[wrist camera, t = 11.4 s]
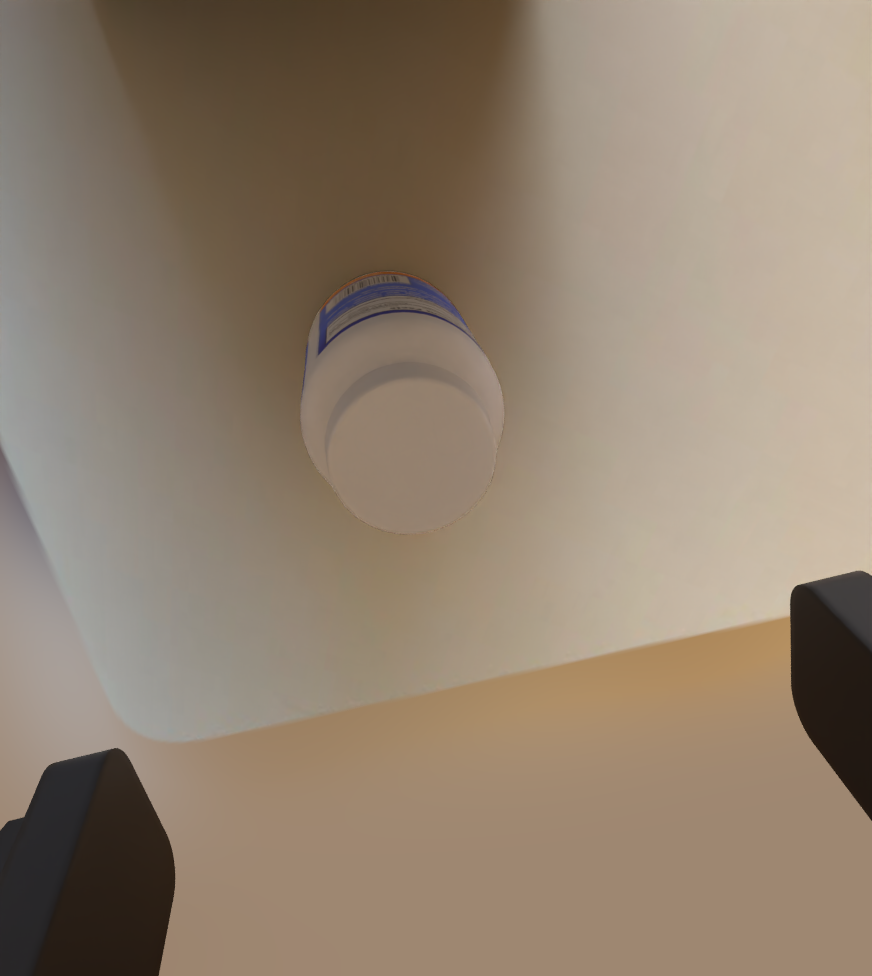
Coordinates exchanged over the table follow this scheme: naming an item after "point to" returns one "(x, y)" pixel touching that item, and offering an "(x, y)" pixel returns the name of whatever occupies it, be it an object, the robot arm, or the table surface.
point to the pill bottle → (400, 404)
